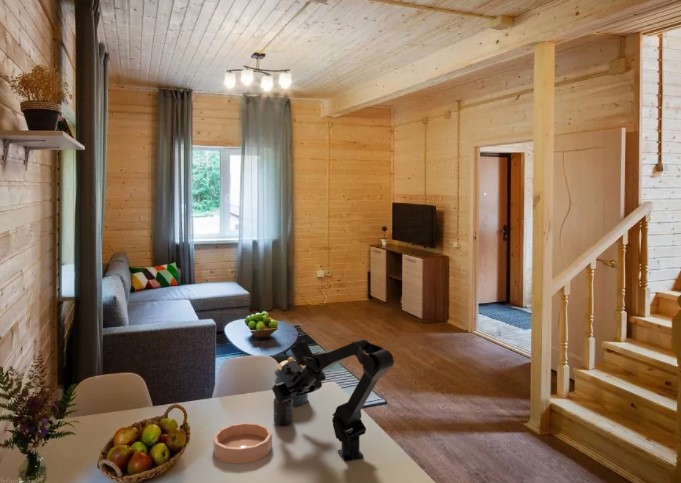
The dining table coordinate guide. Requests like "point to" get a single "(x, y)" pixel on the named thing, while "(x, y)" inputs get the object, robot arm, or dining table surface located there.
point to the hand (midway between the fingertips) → (286, 398)
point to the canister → (289, 383)
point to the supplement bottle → (283, 413)
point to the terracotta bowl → (242, 442)
